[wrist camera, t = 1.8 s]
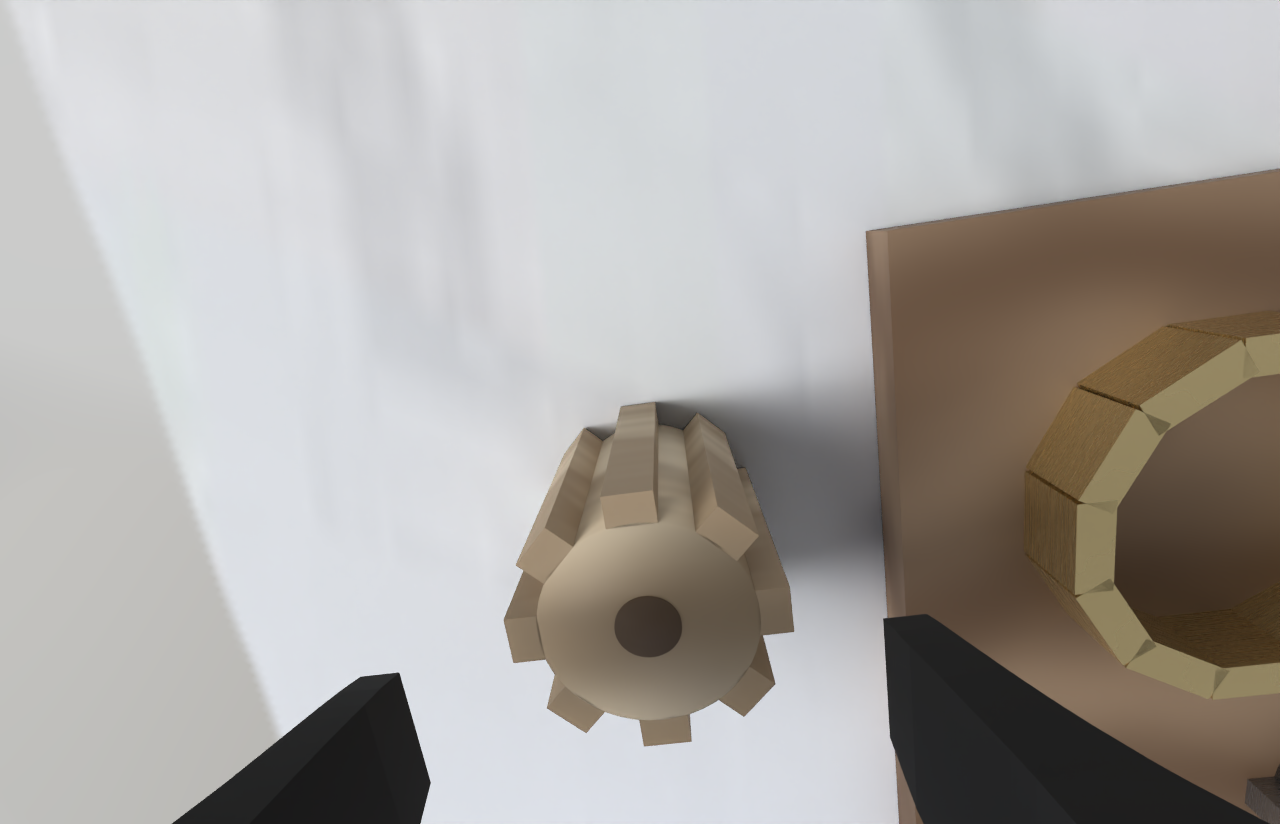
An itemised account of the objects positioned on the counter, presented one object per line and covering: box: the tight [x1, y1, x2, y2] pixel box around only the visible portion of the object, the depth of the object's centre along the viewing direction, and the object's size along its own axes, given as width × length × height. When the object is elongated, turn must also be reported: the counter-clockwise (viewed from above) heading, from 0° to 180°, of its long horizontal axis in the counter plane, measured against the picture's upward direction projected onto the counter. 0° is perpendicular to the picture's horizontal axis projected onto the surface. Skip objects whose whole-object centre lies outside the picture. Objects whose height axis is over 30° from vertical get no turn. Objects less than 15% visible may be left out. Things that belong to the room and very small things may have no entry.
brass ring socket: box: [1024, 311, 1280, 700], centre depth 14 cm, size 8×8×2 cm
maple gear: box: [504, 402, 794, 746], centre depth 14 cm, size 5×5×6 cm
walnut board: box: [866, 169, 1280, 824], centre depth 17 cm, size 20×16×2 cm
